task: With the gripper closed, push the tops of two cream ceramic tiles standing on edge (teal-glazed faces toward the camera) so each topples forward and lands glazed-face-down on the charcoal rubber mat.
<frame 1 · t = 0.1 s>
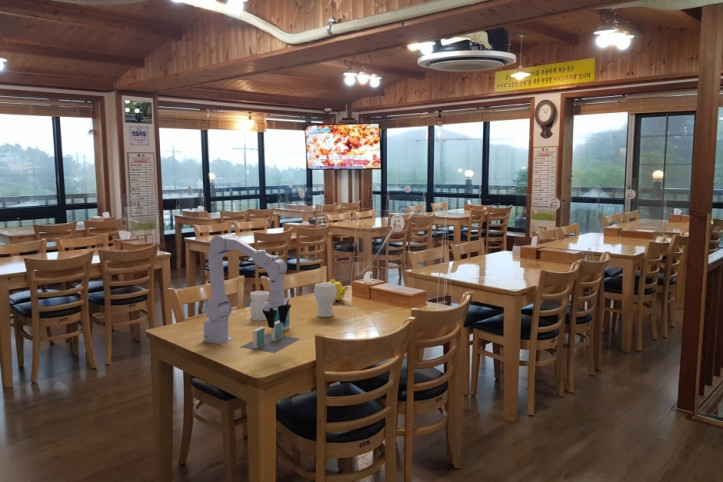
hand: (277, 325, 224), 10 cm above the table, fingers open, 7 cm apart
mat: (270, 343, 233), on the table
pill bottle: (281, 329, 253), on the table
cup: (325, 315, 277), on the table
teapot: (333, 301, 305), on the table
vase: (260, 318, 270), on the table
tile a: (258, 346, 228), resting on mat
tile b: (276, 338, 238), resting on mat
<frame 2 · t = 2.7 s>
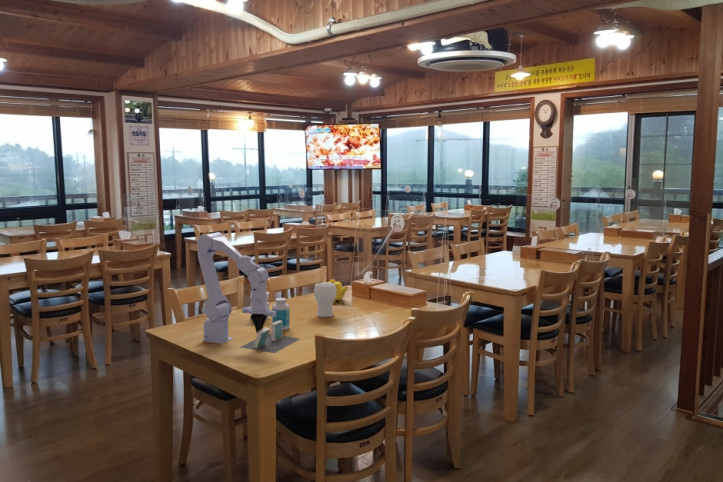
hand: (259, 332, 227), 6 cm above the table, fingers closed
tile a: (259, 345, 228), point 1 cm above the table, tilted 20°, touching mat
everything else where it was.
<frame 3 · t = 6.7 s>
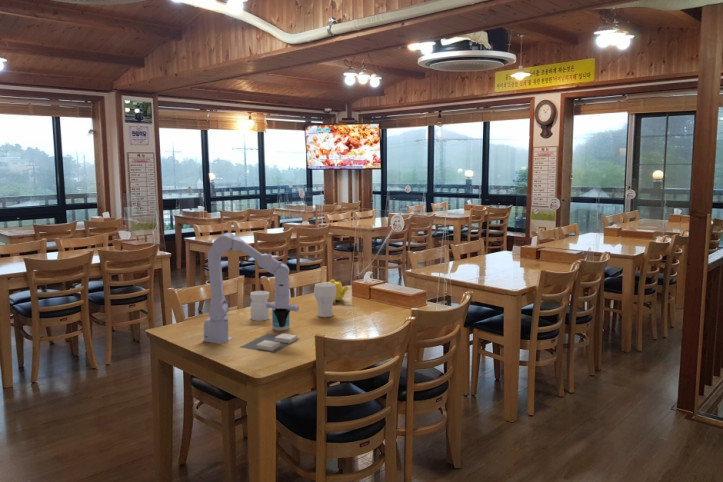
hand: (282, 326, 236), 6 cm above the table, fingers closed
tile a: (260, 344, 228), point 1 cm above the table, tilted 90°, touching mat
tile b: (278, 337, 237), point 1 cm above the table, tilted 90°, touching mat
everything else where it was.
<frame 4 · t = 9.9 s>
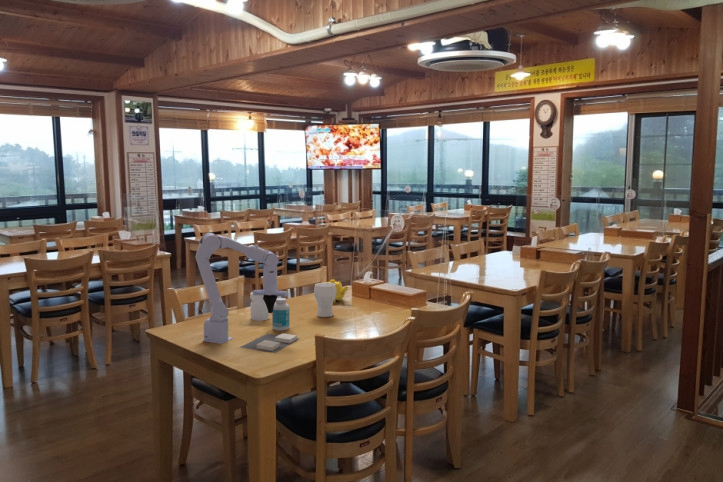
hand: (270, 312, 242), 10 cm above the table, fingers closed
nothing on the table moved.
at the end: tile a tilted 90°; tile b tilted 90°; tile a inside the target area on the mat (5.7 cm from its centre), point 1.2 cm above the mat's base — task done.
